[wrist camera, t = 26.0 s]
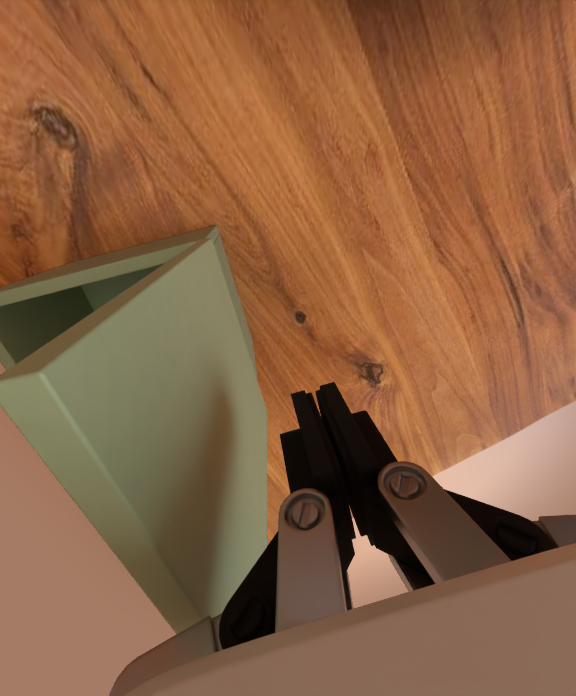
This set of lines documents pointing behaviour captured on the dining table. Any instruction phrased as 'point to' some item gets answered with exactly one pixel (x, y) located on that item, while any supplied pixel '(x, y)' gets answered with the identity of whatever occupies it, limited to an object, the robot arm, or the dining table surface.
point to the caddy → (92, 293)
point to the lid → (157, 433)
